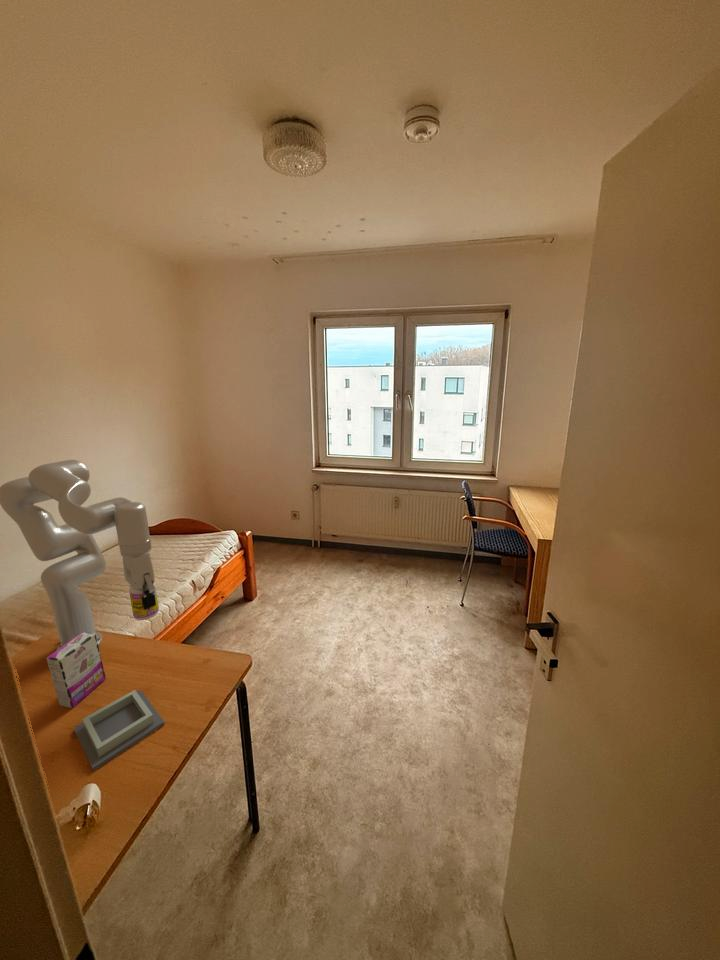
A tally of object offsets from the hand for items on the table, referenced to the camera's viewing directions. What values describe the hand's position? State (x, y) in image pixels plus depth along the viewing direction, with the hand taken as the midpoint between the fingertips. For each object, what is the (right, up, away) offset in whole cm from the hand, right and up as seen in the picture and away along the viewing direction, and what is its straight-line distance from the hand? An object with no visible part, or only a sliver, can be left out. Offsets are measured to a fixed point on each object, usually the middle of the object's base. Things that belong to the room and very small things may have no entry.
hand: (144, 601), depth 108 cm
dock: (0, -29, -11) cm, 31 cm away
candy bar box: (-18, -27, 0) cm, 32 cm away
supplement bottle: (0, -4, +1) cm, 4 cm away
